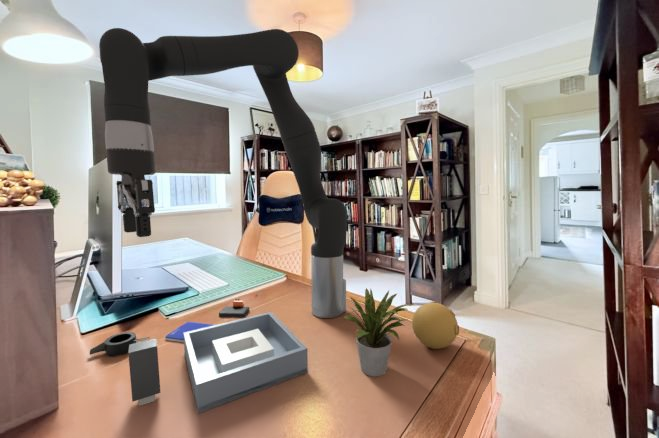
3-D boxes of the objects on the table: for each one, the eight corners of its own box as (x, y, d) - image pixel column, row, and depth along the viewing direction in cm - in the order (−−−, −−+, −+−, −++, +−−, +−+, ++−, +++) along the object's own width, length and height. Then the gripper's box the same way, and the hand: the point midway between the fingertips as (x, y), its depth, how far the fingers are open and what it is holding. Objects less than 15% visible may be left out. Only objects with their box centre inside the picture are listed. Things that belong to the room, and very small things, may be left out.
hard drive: (164, 336, 71) (210, 342, 68) (188, 320, 79) (229, 325, 76) (165, 342, 71) (210, 348, 68) (188, 326, 79) (230, 331, 76)
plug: (160, 390, 53) (156, 338, 52) (161, 400, 50) (157, 345, 49) (133, 399, 51) (129, 344, 50) (133, 410, 48) (128, 353, 47)
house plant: (395, 409, 48) (397, 314, 46) (324, 380, 55) (324, 297, 54) (418, 364, 60) (421, 288, 58) (358, 346, 68) (358, 277, 66)
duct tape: (113, 341, 71) (112, 329, 70) (153, 341, 70) (152, 330, 70) (85, 359, 63) (84, 347, 63) (130, 360, 63) (129, 347, 62)
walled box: (271, 330, 75) (270, 311, 74) (307, 372, 58) (307, 348, 57) (184, 354, 64) (183, 332, 64) (198, 413, 48) (196, 384, 47)
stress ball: (424, 362, 63) (465, 341, 59) (398, 320, 66) (435, 297, 62) (434, 348, 71) (470, 329, 67) (410, 311, 75) (443, 291, 71)
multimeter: (232, 294, 102) (231, 284, 101) (265, 296, 100) (265, 286, 100) (203, 317, 84) (202, 306, 84) (243, 320, 82) (242, 308, 82)
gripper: (166, 147, 53) (171, 235, 55) (141, 153, 63) (147, 228, 65) (116, 143, 48) (124, 241, 49) (97, 150, 57) (105, 232, 59)
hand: (137, 234), depth 57 cm, fingers open, 8 cm apart
